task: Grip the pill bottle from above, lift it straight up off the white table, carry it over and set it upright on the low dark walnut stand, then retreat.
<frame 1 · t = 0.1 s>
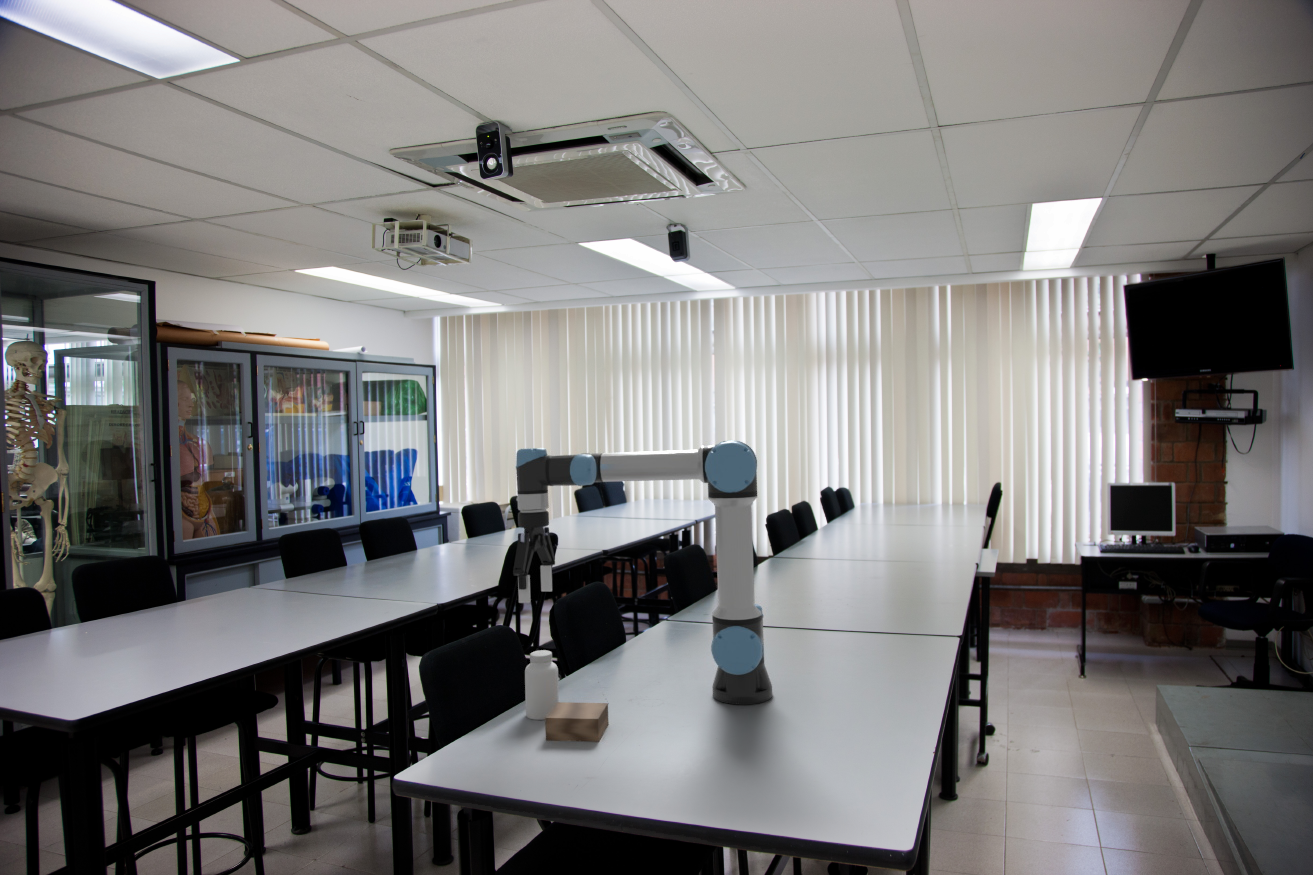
hand: (536, 596, 188), 28 cm above the table, tool pointing down, fingers open, 13 cm apart
pill bottle: (542, 715, 184), on the table
walnut stand: (577, 732, 172), on the table
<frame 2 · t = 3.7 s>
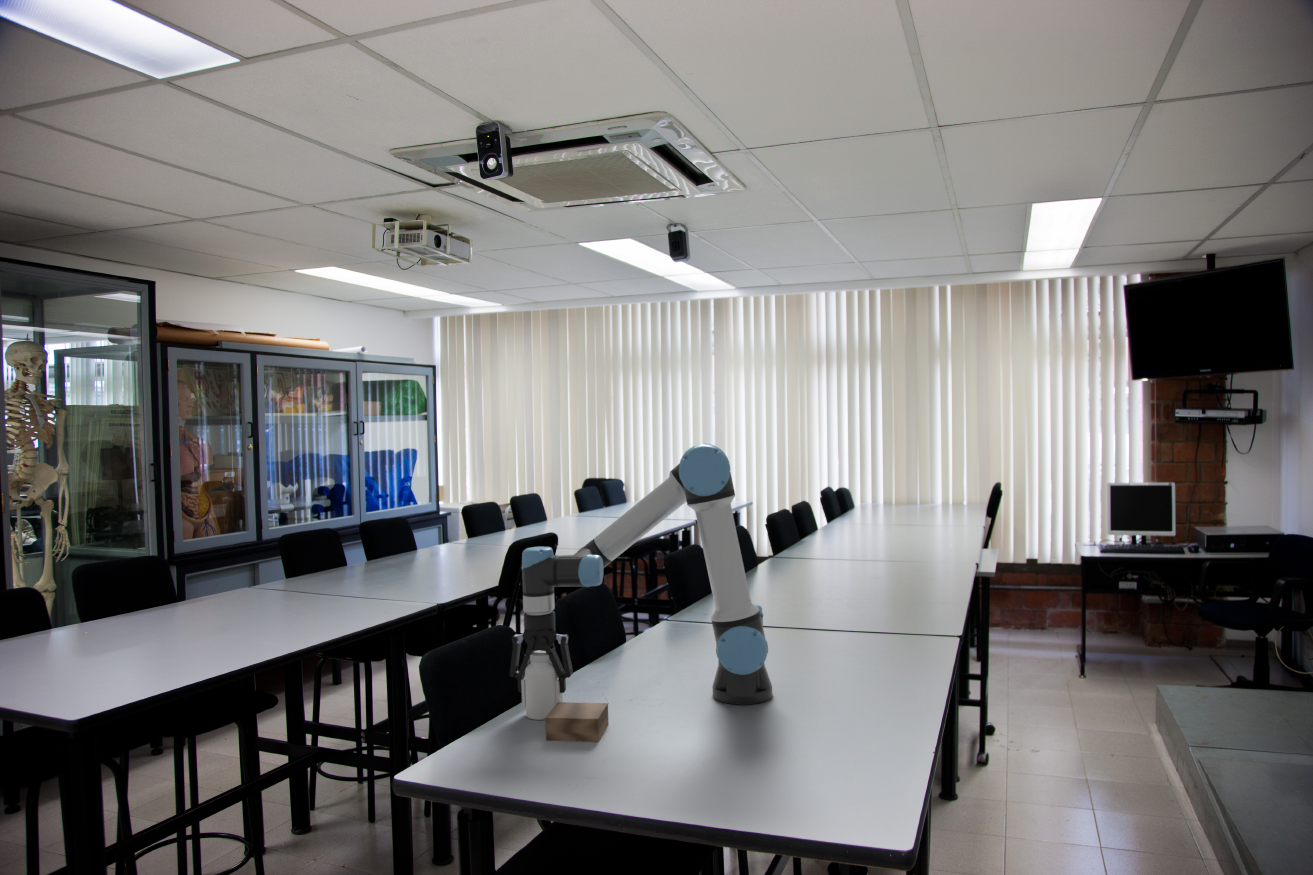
hand: (542, 705, 184), 2 cm above the table, tool pointing down, fingers closed on pill bottle, 8 cm apart
pill bottle: (542, 715, 184), on the table, touching gripper
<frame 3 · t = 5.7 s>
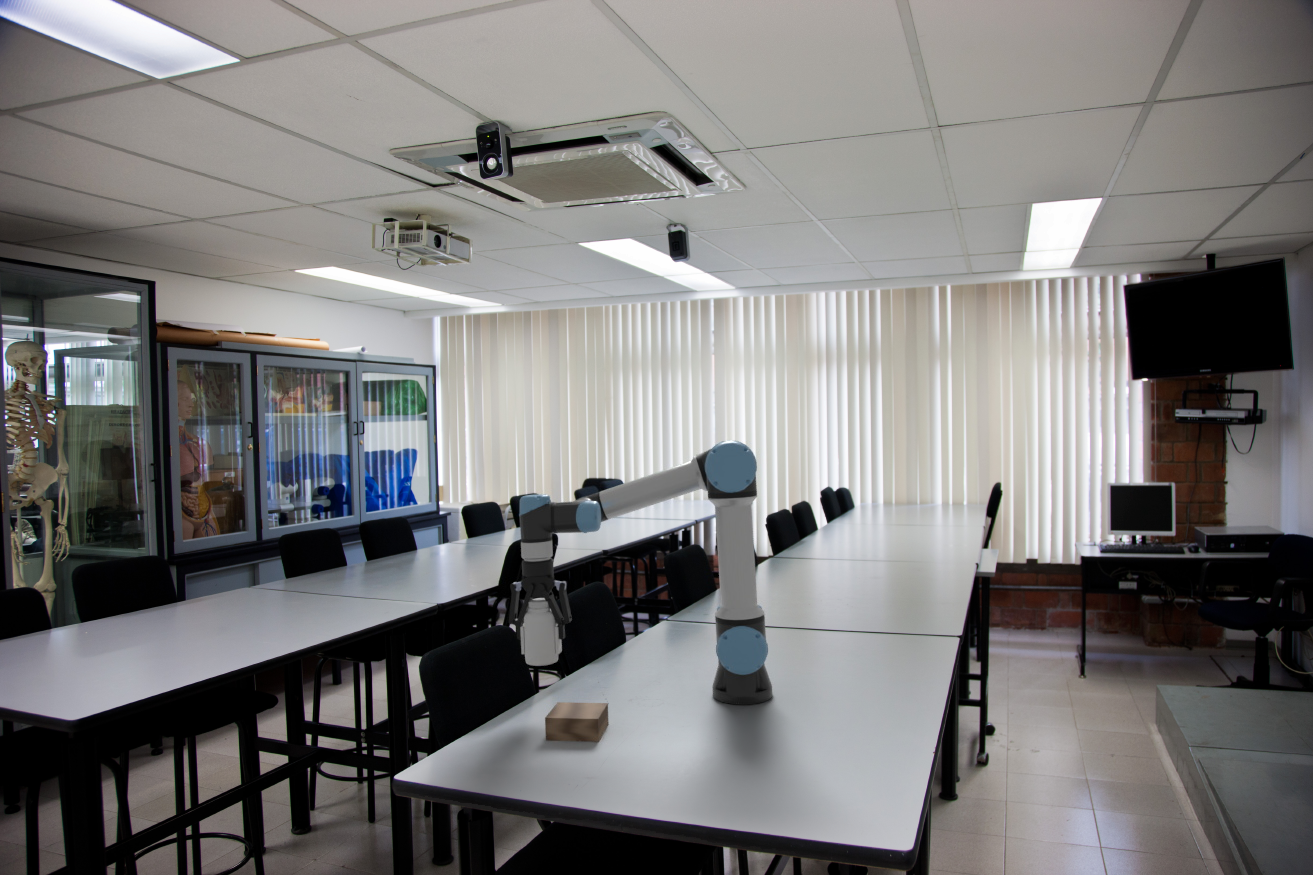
hand: (541, 652, 185), 15 cm above the table, tool pointing down, fingers closed on pill bottle, 8 cm apart
pill bottle: (542, 662, 184), point 13 cm above the table, touching gripper
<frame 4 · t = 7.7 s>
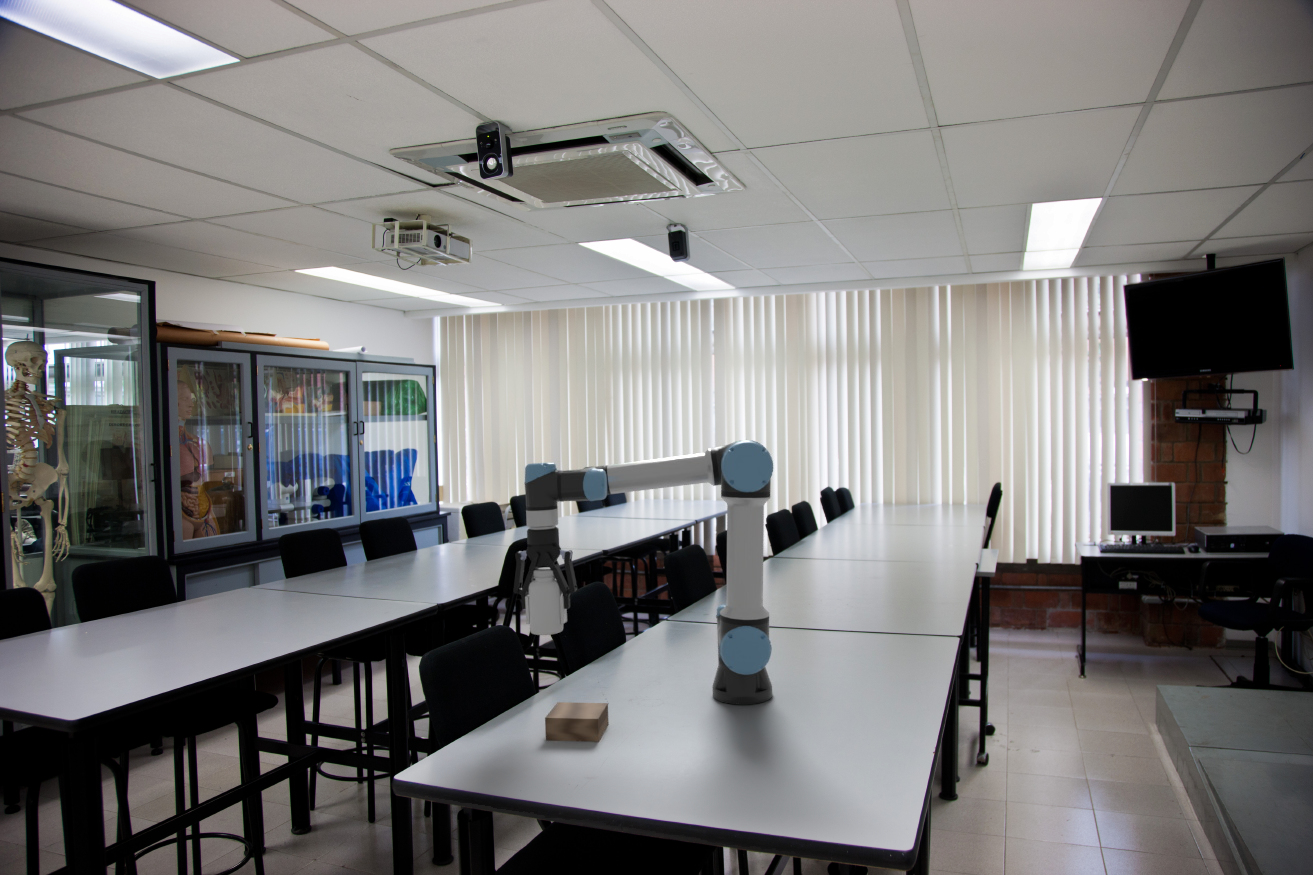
hand: (546, 622, 182), 23 cm above the table, tool pointing down, fingers closed on pill bottle, 8 cm apart
pill bottle: (547, 632, 182), point 20 cm above the table, touching gripper
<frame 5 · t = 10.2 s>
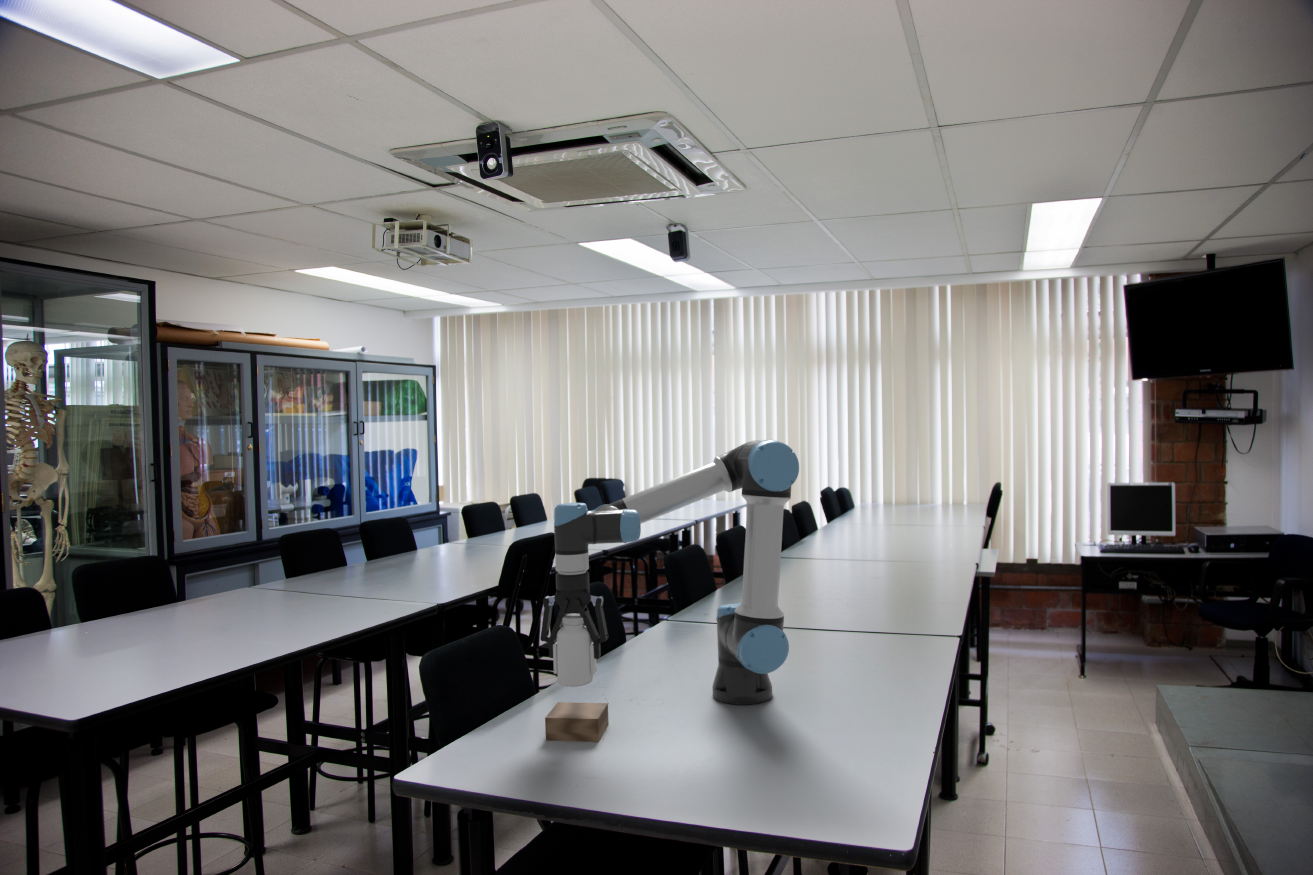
hand: (575, 672, 172), 14 cm above the table, tool pointing down, fingers closed on pill bottle, 8 cm apart
pill bottle: (575, 682, 172), point 11 cm above the table, touching gripper
when the fingers open (9 cm above the table, at t = 12.0 s): pill bottle drops 1 cm, resting on walnut stand.
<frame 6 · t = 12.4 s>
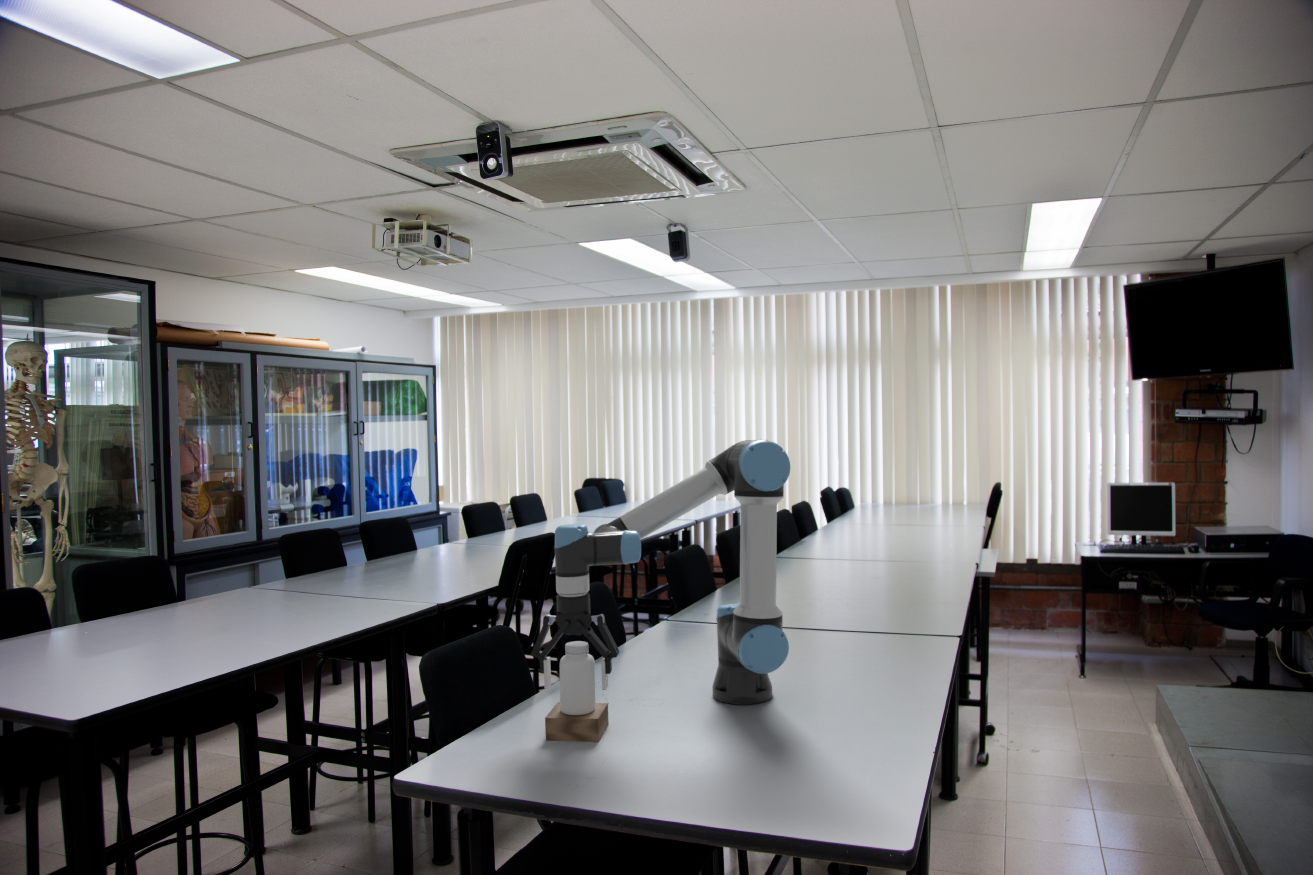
hand: (576, 687, 172), 10 cm above the table, tool pointing down, fingers open, 13 cm apart
pill bottle: (578, 710, 172), point 5 cm above the table, touching walnut stand
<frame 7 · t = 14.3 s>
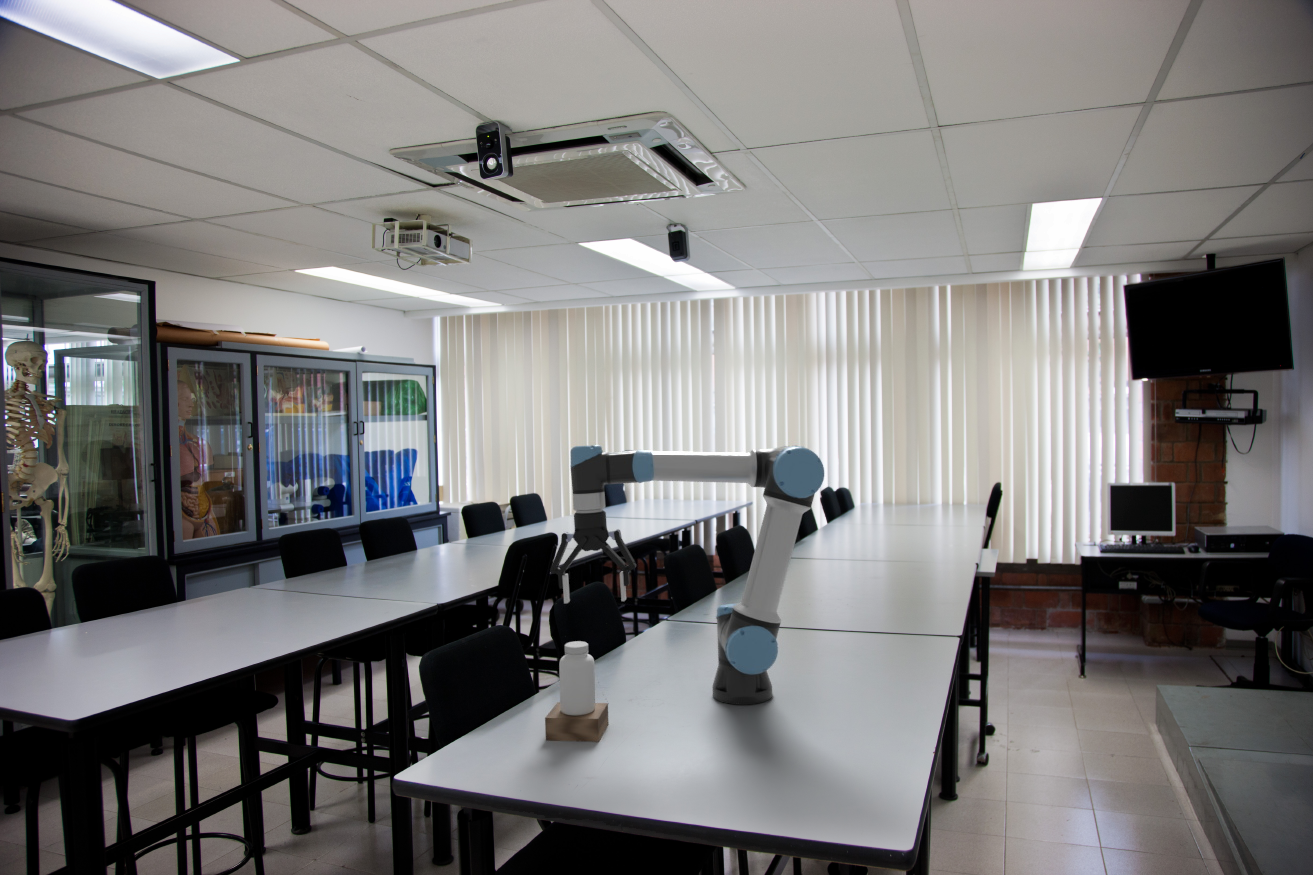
hand: (595, 601, 179), 28 cm above the table, tool pointing down, fingers open, 13 cm apart
nothing on the table moved.
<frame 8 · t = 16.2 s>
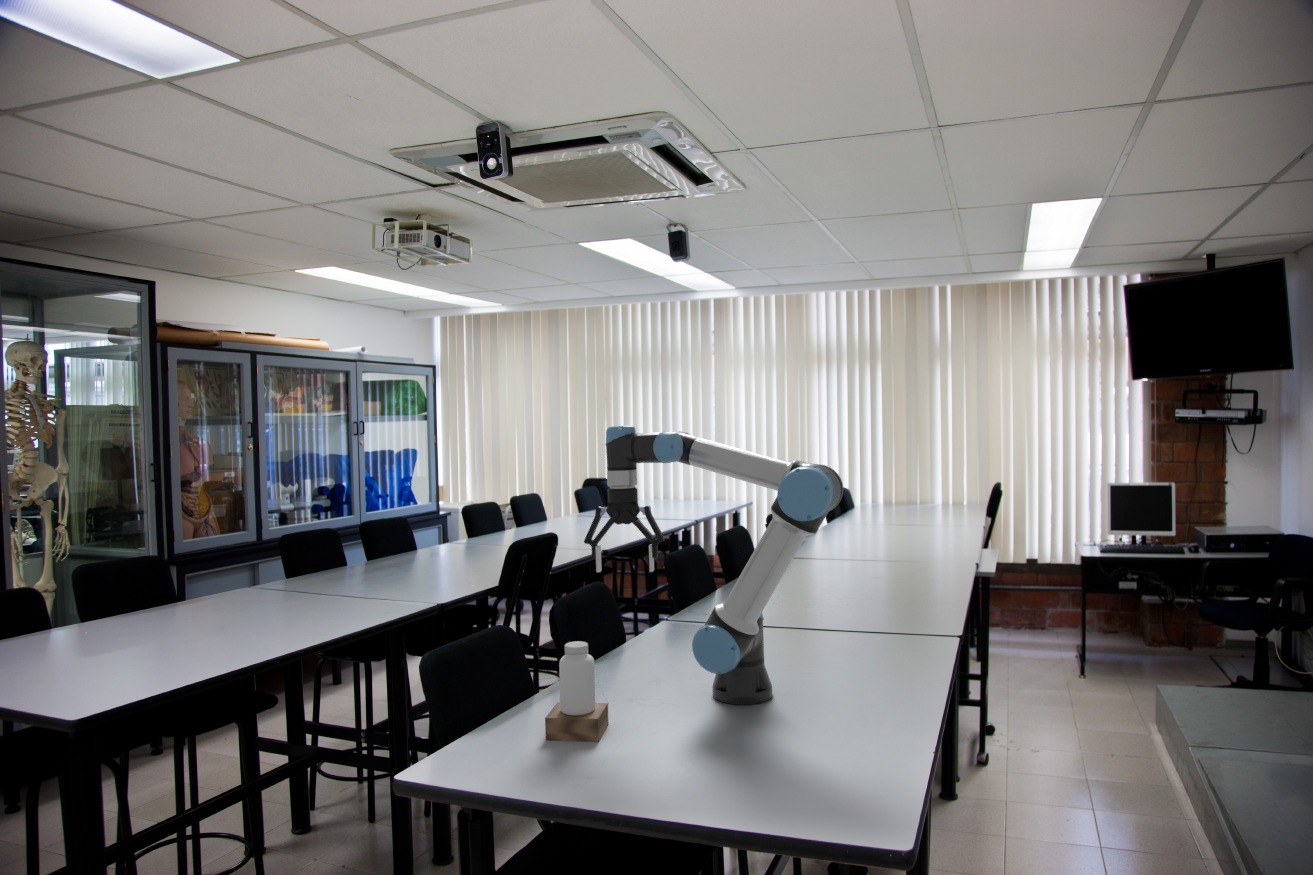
hand: (625, 571, 192), 33 cm above the table, tool pointing down, fingers open, 13 cm apart
nothing on the table moved.
at the end: pill bottle inside the target area on the walnut stand (0.2 cm from its centre), point 4.8 cm above the walnut stand's base; pill bottle tilted 0°; the gripper is holding nothing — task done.
